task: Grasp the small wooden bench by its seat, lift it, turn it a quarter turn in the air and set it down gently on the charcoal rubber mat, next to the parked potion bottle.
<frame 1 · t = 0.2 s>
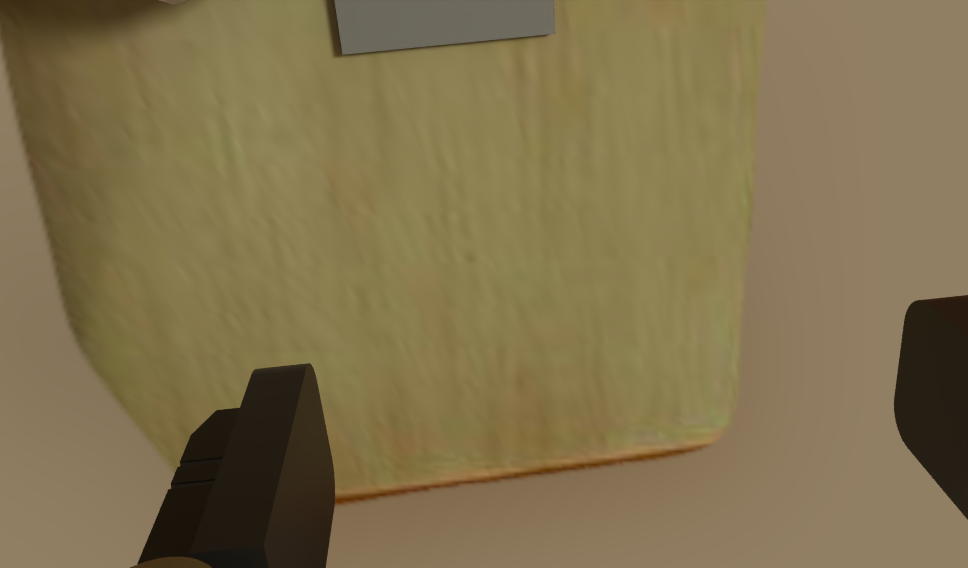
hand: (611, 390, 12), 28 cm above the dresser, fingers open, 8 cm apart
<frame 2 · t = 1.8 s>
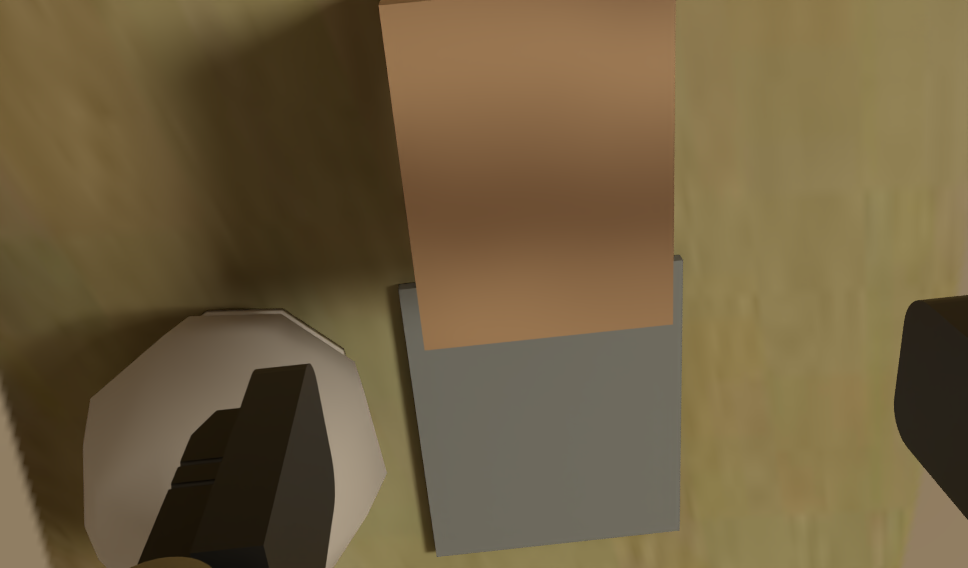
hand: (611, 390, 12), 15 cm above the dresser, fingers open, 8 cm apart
potion bottle: (258, 390, 30), on the dresser
mat: (548, 413, 31), on the dresser
small wooden bench: (511, 100, 26), on the dresser
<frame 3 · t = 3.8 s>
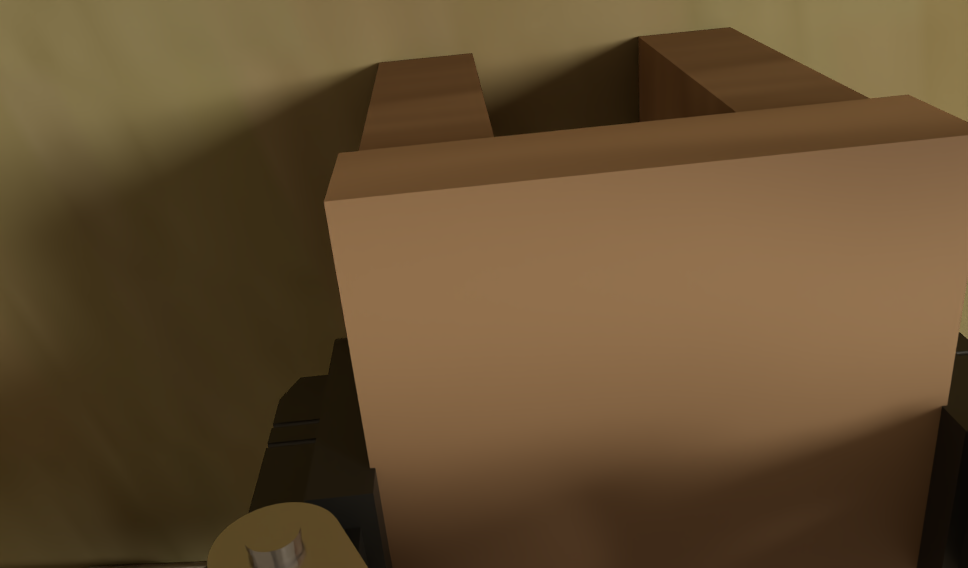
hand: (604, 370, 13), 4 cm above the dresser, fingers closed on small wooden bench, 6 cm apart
small wooden bench: (566, 262, 16), on the dresser, touching gripper
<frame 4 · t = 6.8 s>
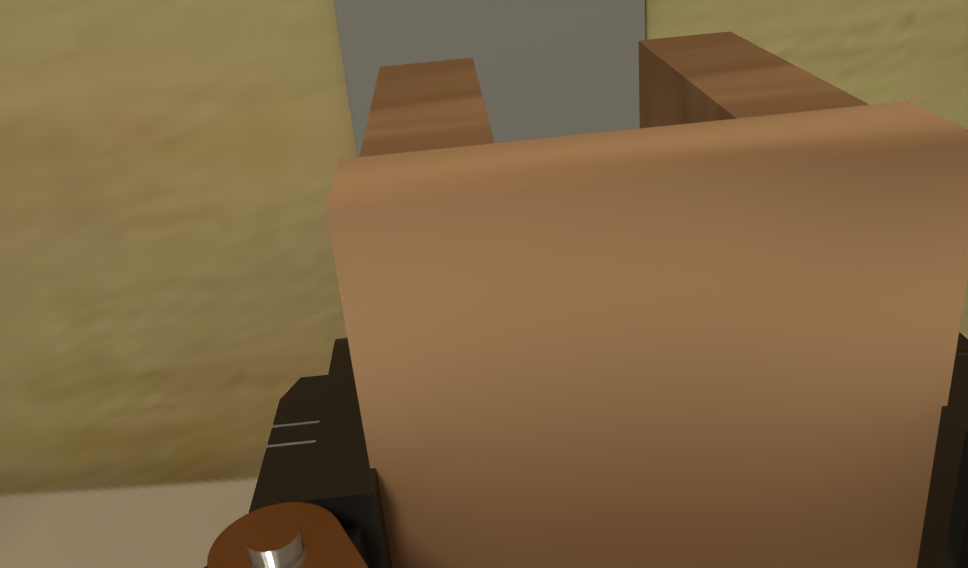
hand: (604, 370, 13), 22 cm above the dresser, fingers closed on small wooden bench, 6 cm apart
mat: (495, 62, 33), on the dresser
small wooden bench: (566, 265, 16), point 19 cm above the dresser, touching gripper
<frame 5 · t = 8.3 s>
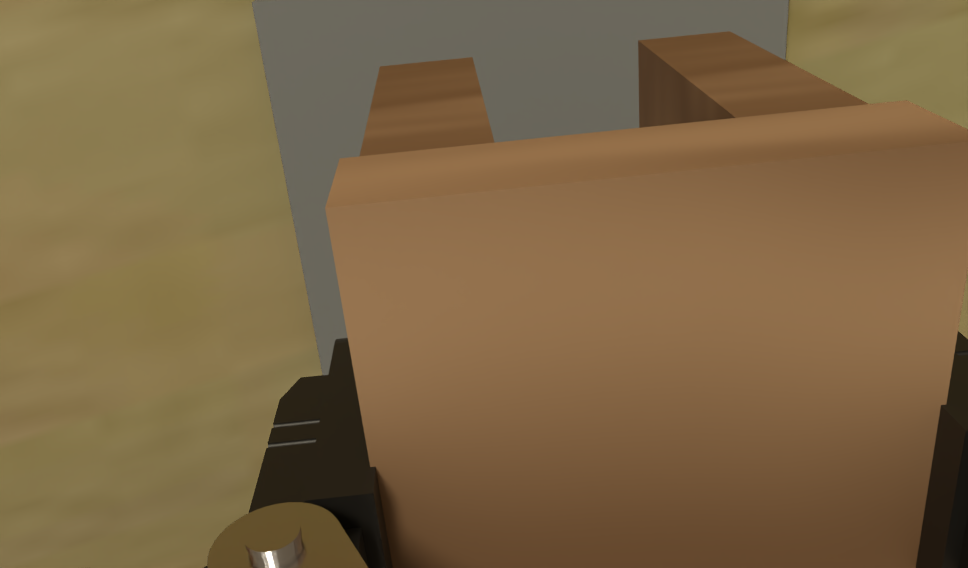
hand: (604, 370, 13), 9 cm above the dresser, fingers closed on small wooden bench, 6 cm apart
mat: (534, 181, 20), on the dresser
small wooden bench: (566, 265, 16), point 5 cm above the dresser, touching gripper
when the fingers open (5 cm above the dresser, at t = 9.8 s): small wooden bench stays where it is, resting on mat.
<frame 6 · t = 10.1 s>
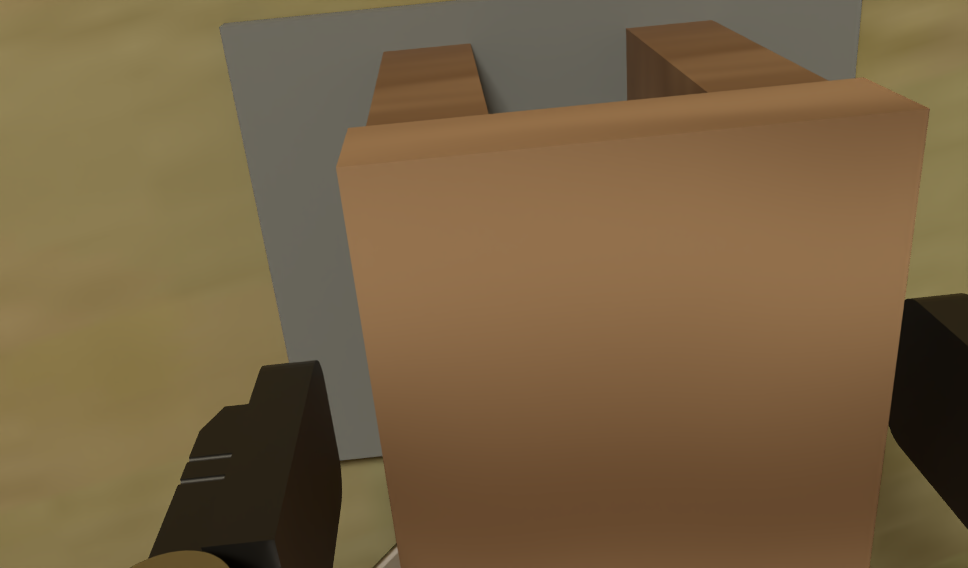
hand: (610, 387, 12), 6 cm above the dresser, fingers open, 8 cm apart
mat: (555, 232, 17), on the dresser
small wooden bench: (558, 241, 17), resting on mat
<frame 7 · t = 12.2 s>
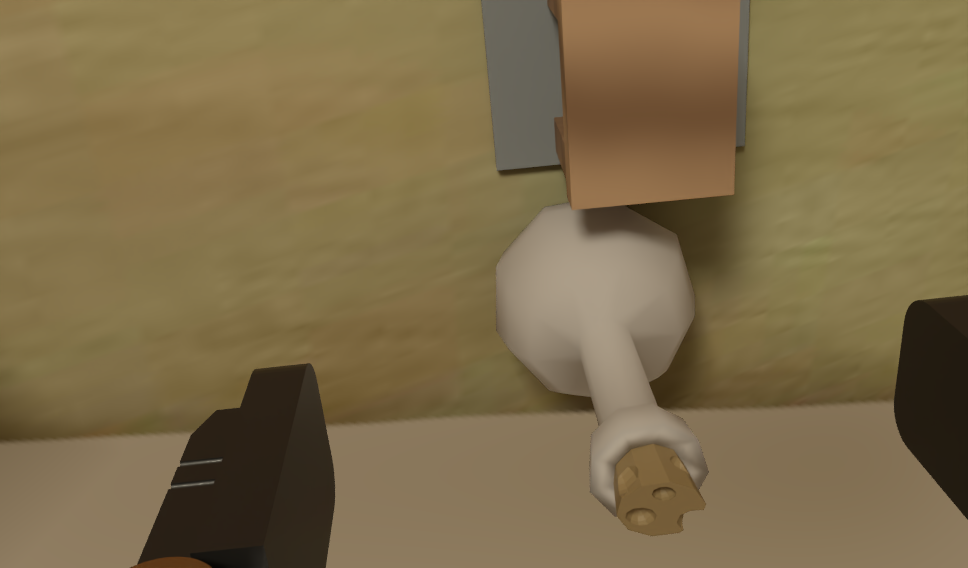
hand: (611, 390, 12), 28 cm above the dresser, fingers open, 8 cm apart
potion bottle: (579, 263, 42), on the dresser
mat: (616, 53, 38), on the dresser
small wooden bench: (618, 56, 37), resting on mat
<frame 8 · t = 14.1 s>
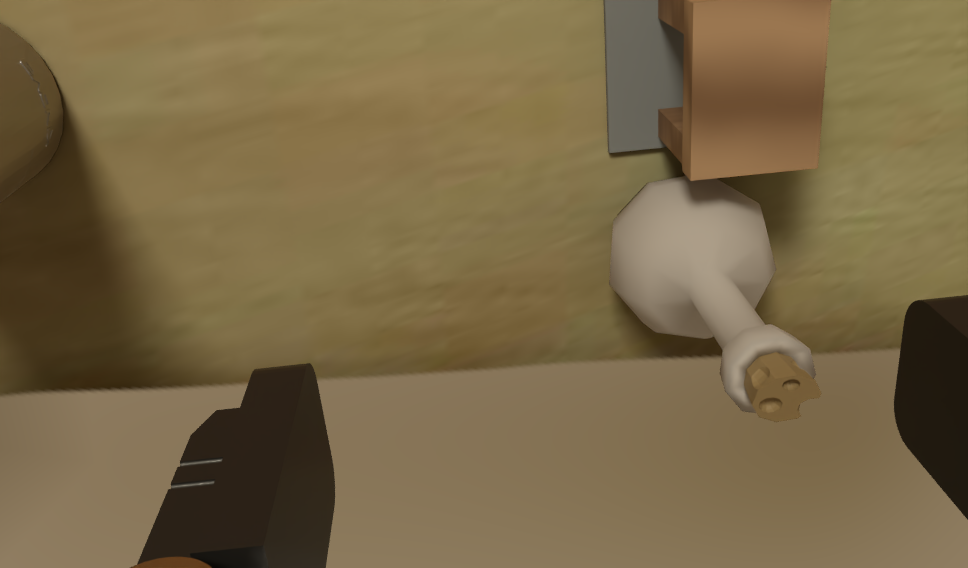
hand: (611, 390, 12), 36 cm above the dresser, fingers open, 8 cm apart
potion bottle: (670, 231, 51), on the dresser
mat: (710, 57, 46), on the dresser
small wooden bench: (712, 59, 46), resting on mat
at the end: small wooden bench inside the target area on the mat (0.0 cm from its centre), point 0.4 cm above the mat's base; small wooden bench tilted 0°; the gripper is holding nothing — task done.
